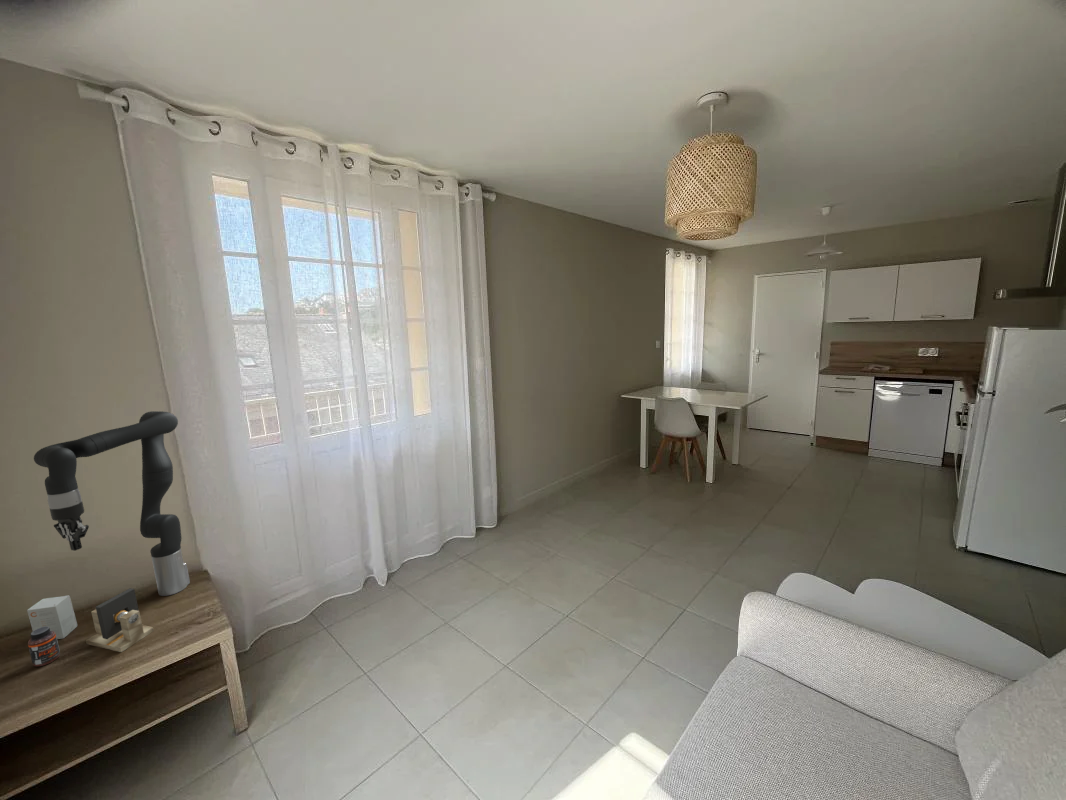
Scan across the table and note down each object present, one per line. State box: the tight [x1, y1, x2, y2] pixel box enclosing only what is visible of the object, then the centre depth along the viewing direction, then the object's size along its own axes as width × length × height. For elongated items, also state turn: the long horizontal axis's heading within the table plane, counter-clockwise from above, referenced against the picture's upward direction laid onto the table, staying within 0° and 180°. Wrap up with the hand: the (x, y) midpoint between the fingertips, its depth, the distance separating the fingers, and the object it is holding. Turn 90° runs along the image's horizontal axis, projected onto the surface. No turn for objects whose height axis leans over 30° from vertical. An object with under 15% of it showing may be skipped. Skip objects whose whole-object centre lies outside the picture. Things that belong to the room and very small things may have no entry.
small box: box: [26, 595, 78, 640], centre depth 146 cm, size 8×6×13 cm
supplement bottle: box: [27, 626, 61, 667], centre depth 135 cm, size 6×6×11 cm
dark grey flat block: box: [95, 587, 140, 639], centre depth 144 cm, size 10×2×12 cm, turn 167°
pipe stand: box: [85, 608, 155, 653], centre depth 145 cm, size 10×16×11 cm, turn 77°
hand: (76, 549), depth 144 cm, fingers closed
